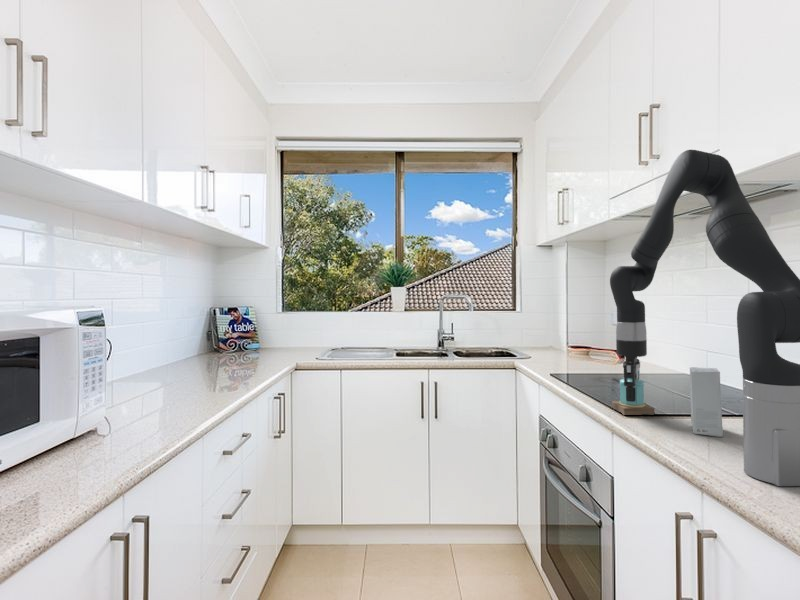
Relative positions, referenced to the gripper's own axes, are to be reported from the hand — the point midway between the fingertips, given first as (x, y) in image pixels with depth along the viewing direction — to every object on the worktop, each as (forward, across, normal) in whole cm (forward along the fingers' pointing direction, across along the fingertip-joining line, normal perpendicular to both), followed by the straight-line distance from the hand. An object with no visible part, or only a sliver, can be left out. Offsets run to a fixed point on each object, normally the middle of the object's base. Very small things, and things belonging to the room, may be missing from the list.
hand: (632, 398), depth 128 cm
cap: (+1, 0, 0) cm, 1 cm away
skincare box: (+4, -11, -17) cm, 21 cm away
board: (+4, 0, 0) cm, 4 cm away
